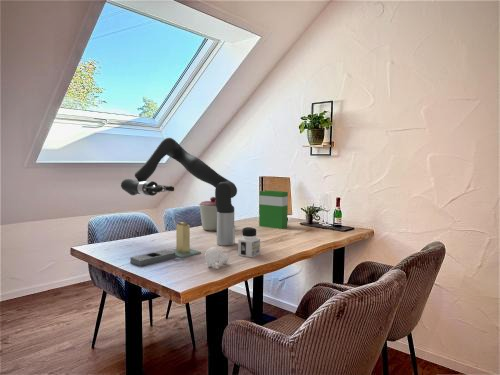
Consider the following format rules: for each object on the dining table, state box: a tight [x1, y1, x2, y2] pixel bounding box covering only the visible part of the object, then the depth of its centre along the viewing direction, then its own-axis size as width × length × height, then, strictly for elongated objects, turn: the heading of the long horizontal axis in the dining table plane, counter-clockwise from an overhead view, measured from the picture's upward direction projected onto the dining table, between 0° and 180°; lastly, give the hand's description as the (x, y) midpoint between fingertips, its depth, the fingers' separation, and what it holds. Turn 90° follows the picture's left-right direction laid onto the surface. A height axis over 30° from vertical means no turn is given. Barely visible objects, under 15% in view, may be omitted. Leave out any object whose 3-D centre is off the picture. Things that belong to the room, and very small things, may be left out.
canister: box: [198, 196, 217, 232], centre depth 232 cm, size 18×18×21 cm
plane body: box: [129, 249, 176, 267], centre depth 160 cm, size 18×8×2 cm, turn 139°
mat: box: [170, 248, 202, 259], centre depth 173 cm, size 12×12×1 cm
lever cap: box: [175, 221, 191, 253], centre depth 172 cm, size 4×5×14 cm
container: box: [237, 226, 261, 258], centre depth 171 cm, size 8×8×13 cm
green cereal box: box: [258, 189, 289, 230], centre depth 243 cm, size 18×7×24 cm, turn 56°
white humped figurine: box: [204, 246, 230, 270], centre depth 153 cm, size 6×8×12 cm
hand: (166, 189), depth 181 cm, fingers open, 8 cm apart
